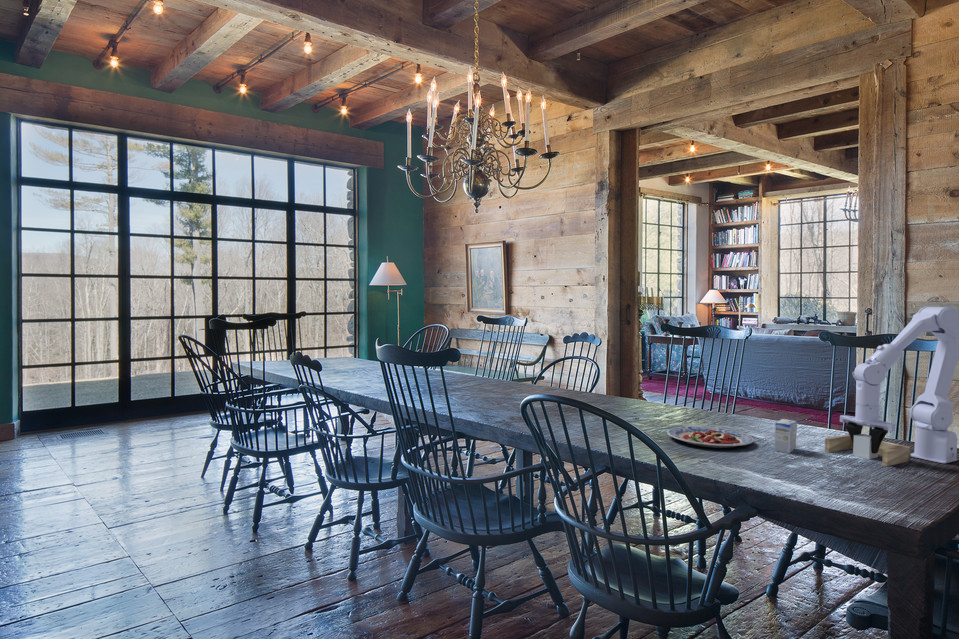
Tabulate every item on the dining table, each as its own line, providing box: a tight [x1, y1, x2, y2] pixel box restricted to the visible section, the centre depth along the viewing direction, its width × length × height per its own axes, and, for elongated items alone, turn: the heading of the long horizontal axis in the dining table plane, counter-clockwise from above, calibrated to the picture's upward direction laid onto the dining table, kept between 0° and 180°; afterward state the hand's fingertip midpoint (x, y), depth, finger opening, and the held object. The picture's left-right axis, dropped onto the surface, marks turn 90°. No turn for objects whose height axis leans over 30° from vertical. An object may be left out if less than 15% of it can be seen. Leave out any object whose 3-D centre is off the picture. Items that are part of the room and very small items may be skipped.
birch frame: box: [824, 433, 912, 467], centre depth 178 cm, size 17×12×4 cm
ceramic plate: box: [666, 425, 755, 449], centre depth 194 cm, size 26×26×3 cm
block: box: [852, 433, 879, 460], centre depth 178 cm, size 4×4×6 cm
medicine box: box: [773, 418, 798, 454], centre depth 184 cm, size 8×4×9 cm, turn 141°
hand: (865, 450), depth 178 cm, fingers closed on block, 4 cm apart
